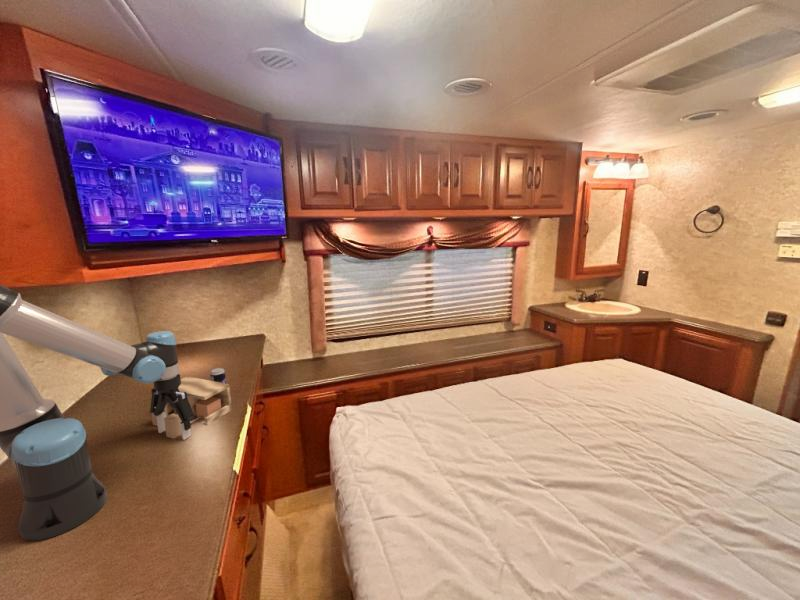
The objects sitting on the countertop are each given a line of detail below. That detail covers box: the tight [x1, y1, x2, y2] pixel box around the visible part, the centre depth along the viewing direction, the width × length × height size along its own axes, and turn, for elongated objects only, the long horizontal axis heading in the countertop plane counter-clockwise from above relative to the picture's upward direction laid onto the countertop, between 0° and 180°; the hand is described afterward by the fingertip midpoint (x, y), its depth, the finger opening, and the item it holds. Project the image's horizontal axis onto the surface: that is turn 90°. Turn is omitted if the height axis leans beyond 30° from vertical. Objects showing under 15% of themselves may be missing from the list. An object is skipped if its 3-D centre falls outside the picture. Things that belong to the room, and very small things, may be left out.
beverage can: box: [209, 367, 227, 384], centre depth 140 cm, size 6×6×12 cm
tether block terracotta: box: [164, 397, 221, 439], centre depth 119 cm, size 19×6×7 cm, turn 161°
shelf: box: [166, 376, 233, 425], centre depth 126 cm, size 11×23×11 cm, turn 71°
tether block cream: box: [150, 400, 178, 427], centre depth 124 cm, size 15×6×7 cm, turn 161°
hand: (174, 434), depth 112 cm, fingers open, 11 cm apart
